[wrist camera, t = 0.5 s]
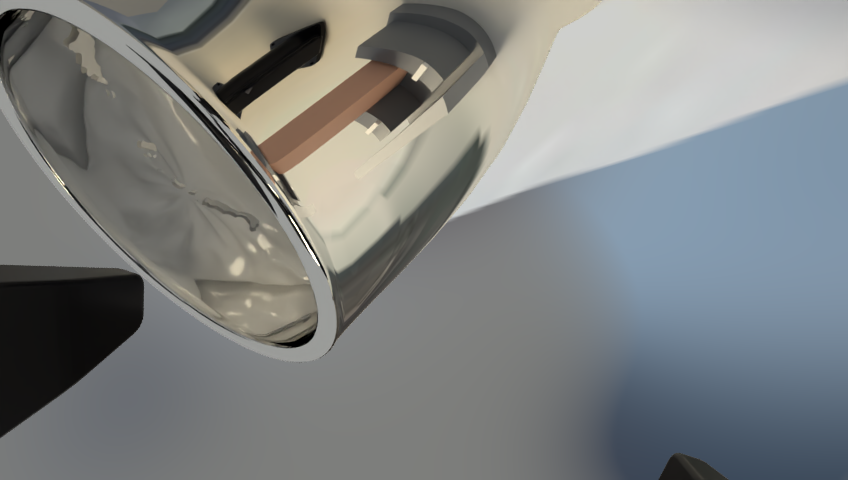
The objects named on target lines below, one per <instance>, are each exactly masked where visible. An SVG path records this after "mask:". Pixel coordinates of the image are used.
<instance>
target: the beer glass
mask: <svg viewBox="0 0 848 480" xmlns="http://www.w3.org/2000/svg"><path fill="white" fill-rule="evenodd" d="M601 1H602V0H0V109H1V110H2V112H3V114H4V115H5V117H6V118H7V120H8V122H9V123H10V125H11V126H12V128H13V130H14V131H15V133H16V134H17V136H18V137H19V139H20V140H21V142H22V143H23V145H24V146H25V147H26V149H27V150H28V152H29V153H30V154H31V156H32V157H33V159H34V160H35V161H36V162H37V164H38V165H39V166H40V168H41V169H42V170H43V172H44V173H45V174H46V176H47V177H48V178H49V179H50V180H51V182H52V183H53V184H54V186H55V187H56V188H57V189H58V190H59V191H60V193H61V194H62V195H63V196H64V197H65V199H66V200H67V201H68V202H69V203H70V204H71V205H72V207H73V208H74V209H75V210H76V211H77V212H78V213H79V214H80V216H81V217H82V218H83V219H84V220H85V221H86V222H87V223H88V224H89V225H90V226H91V227H92V229H93V230H94V231H95V232H96V233H97V234H98V235H99V236H100V237H101V238H102V239H103V240H104V241H105V242H106V243H107V244H108V245H109V246H110V247H111V248H112V249H113V250H115V252H116V253H117V254H118V255H120V256H121V257H122V258H123V259H124V260H125V261H126V262H127V263H128V264H129V265H130V266H131V267H132V268H134V269H135V270H136V271H137V272H138V273H139V274H140V275H141V276H142V277H144V278H145V279H146V280H147V281H148V282H150V283H151V284H152V285H153V286H154V287H156V288H157V289H158V290H159V291H161V292H162V293H163V294H164V295H165V296H167V297H168V298H169V299H170V300H172V301H173V302H174V303H176V304H177V305H179V307H181V308H182V309H184V310H185V311H187V312H188V313H190V315H192V316H193V317H195V318H196V319H198V320H199V321H201V322H202V323H204V324H205V325H207V326H208V327H210V328H212V329H213V330H215V331H216V332H218V333H219V334H221V335H223V336H225V337H226V338H228V339H230V340H232V341H234V342H236V343H237V344H239V345H241V346H243V347H246V348H248V349H250V350H252V351H255V352H257V353H259V354H262V355H265V356H268V357H271V358H274V359H278V360H282V361H287V362H299V363H302V362H309V361H314V360H317V359H319V358H321V357H323V356H324V355H325V354H327V353H328V352H329V351H330V350H331V348H332V347H333V346H334V344H335V342H336V340H337V339H338V338H339V337H340V336H341V335H342V333H343V332H344V331H345V330H346V329H347V328H348V327H349V326H350V324H351V323H352V322H353V321H354V320H355V319H356V318H357V317H358V316H359V315H360V314H361V313H362V312H363V310H365V309H366V308H367V306H369V305H370V304H371V302H373V300H374V299H375V298H376V297H377V296H378V295H379V294H380V293H381V292H382V291H383V290H384V289H385V288H386V287H387V286H388V285H389V284H390V283H391V282H392V281H393V280H394V279H395V278H396V277H397V276H398V275H399V274H400V273H401V272H402V271H403V270H404V269H405V268H406V267H407V265H409V263H410V262H411V261H412V260H413V259H414V258H415V257H416V256H417V255H418V254H419V253H420V252H421V251H422V250H423V249H424V248H425V246H426V245H427V244H428V243H429V242H430V241H431V240H432V239H433V238H434V237H435V235H436V234H437V233H438V232H439V230H441V228H442V227H443V226H444V225H445V224H446V222H447V221H448V220H449V219H450V218H451V217H452V215H453V214H454V213H455V212H456V211H457V210H458V208H459V207H460V206H461V205H462V204H463V202H464V201H465V200H466V199H467V198H468V196H469V195H470V194H471V192H472V191H473V190H474V188H475V187H476V185H477V184H478V183H479V181H480V180H481V178H482V177H483V176H484V174H485V173H486V171H487V170H488V169H489V167H490V166H491V164H492V163H493V162H494V160H495V159H496V157H497V156H498V155H499V153H500V152H501V150H502V148H503V147H504V145H505V143H506V141H507V139H508V138H509V136H510V134H511V132H512V130H513V128H514V126H515V125H516V123H517V121H518V119H519V117H520V115H521V113H522V112H523V110H524V108H525V106H526V104H527V102H528V100H529V98H530V95H531V93H532V91H533V89H534V86H535V84H536V82H537V80H538V77H539V75H540V73H541V71H542V68H543V66H544V64H545V61H546V59H547V56H548V54H549V52H550V49H551V47H552V45H553V42H554V40H555V38H556V36H557V34H558V32H559V30H560V29H561V28H563V27H565V26H567V25H568V24H570V23H572V22H574V21H576V20H578V19H580V18H581V17H583V16H584V15H586V14H587V13H589V12H590V11H591V10H593V9H594V8H595V7H596V6H597V5H598V4H599V3H600V2H601Z"/></svg>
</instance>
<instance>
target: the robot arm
mask: <svg viewBox="0 0 848 480" xmlns="http://www.w3.org/2000/svg"><path fill="white" fill-rule="evenodd" d="M143 307H144V282H143V279H142V278H141V276H140V275H138V274H135V273H132V272H129V271H126V270H123V269H118V268H89V267H88V268H87V267H56V266H23V265H22V266H21V265H0V438H1V437H3V436H4V435H5V434H7V433H8V432H10V431H11V430H12V429H14V428H15V427H17V426H18V425H19V424H21V423H22V422H23V421H25V420H26V419H28V418H29V417H31V416H32V415H33V414H35V413H36V412H38V411H39V410H40V409H42V408H43V407H45V406H46V405H47V404H49V403H50V402H52V401H53V400H54V399H56V398H57V397H59V396H60V395H61V394H63V393H64V392H65V391H67V390H68V389H69V388H71V387H72V386H73V385H75V384H76V383H77V382H78V381H79V380H81V379H82V378H83V377H84V376H86V375H87V374H88V373H89V372H90V371H91V370H92V369H94V368H95V367H96V366H97V365H98V364H99V363H100V362H102V361H103V360H104V359H105V358H106V357H107V356H109V355H110V354H111V353H112V352H113V351H114V350H115V349H117V348H118V347H119V346H120V345H121V344H122V343H124V342H125V341H126V340H127V339H128V338H129V337H130V336H132V335H133V334H134V333H135V332H136V331H137V330H138V328H139V327H140V325H141V323H142V320H143V311H144V308H143ZM659 480H728V479H727V478H725V477H724V476H723V475H722V474H720V473H719V472H717V471H716V470H715V469H714V468H712V467H711V466H710V465H708V464H707V463H705V462H704V461H702V460H700V459H697V458H694V457H691V456H687V455H684V454H681V453H675V454H674V455H672V457H671V458H670V459H669V461H668V462H667V464H666V466H665V468H664V470H663V472H662V474H661V476H660V478H659Z"/></svg>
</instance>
